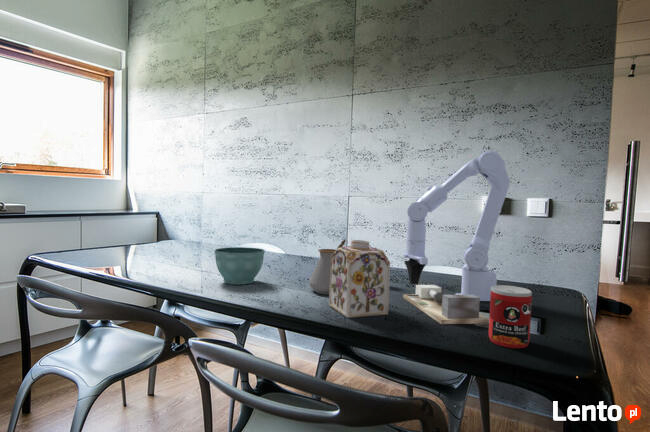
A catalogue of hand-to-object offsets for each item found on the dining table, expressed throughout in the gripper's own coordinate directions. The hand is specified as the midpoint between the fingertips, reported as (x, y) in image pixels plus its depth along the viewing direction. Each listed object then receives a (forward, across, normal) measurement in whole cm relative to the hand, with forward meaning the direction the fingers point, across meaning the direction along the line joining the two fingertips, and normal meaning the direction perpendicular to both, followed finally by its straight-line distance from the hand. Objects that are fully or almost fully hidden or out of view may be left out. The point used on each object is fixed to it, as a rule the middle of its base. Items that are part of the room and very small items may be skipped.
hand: (414, 283), depth 123 cm
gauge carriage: (+2, +14, -2) cm, 14 cm away
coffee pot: (+3, -5, -25) cm, 26 cm away
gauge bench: (+3, +19, 0) cm, 19 cm away
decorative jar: (+3, +20, -23) cm, 31 cm away
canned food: (+3, +44, +3) cm, 44 cm away
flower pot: (+3, -14, -55) cm, 57 cm away
